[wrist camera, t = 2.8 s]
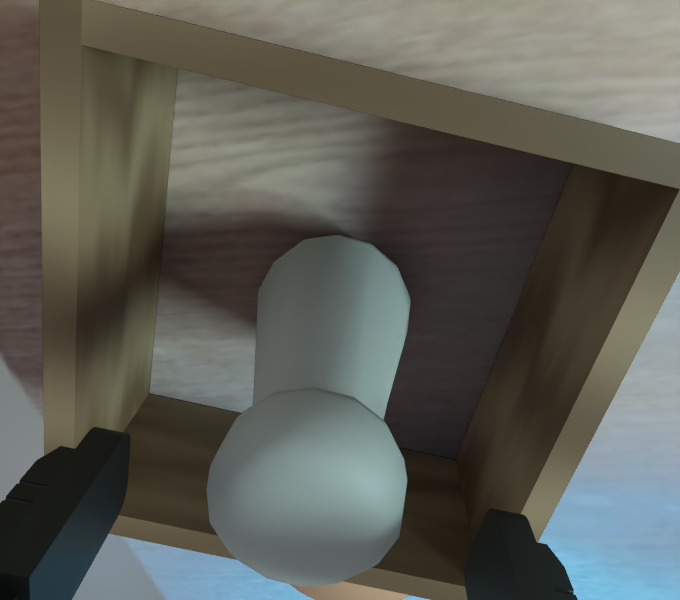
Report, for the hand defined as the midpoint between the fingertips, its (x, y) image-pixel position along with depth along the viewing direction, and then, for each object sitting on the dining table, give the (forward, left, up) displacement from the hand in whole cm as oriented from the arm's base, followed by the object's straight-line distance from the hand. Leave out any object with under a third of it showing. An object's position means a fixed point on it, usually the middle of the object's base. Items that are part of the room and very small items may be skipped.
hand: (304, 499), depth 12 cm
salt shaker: (0, 0, -12) cm, 12 cm away
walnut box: (0, 0, -12) cm, 12 cm away
